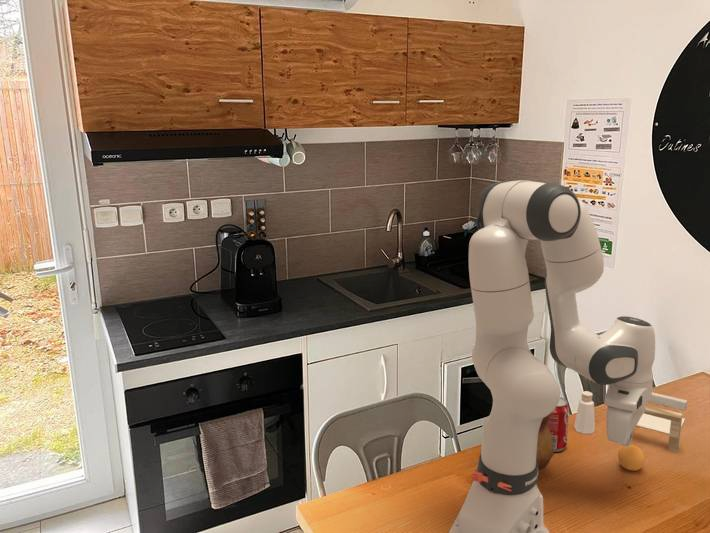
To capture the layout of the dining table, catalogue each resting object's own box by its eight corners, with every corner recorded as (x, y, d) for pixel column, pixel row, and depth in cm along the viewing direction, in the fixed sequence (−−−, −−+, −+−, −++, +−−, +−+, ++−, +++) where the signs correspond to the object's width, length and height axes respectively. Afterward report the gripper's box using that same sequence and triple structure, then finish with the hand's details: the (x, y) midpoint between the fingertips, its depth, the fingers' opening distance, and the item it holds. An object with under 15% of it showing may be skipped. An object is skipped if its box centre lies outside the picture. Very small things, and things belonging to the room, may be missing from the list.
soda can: (568, 454, 150) (571, 407, 147) (539, 451, 151) (541, 405, 148) (564, 440, 156) (567, 395, 154) (536, 438, 158) (539, 393, 155)
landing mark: (676, 436, 158) (677, 435, 158) (629, 423, 165) (629, 422, 165) (685, 419, 167) (685, 418, 167) (639, 408, 174) (639, 407, 174)
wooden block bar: (685, 410, 172) (685, 402, 172) (648, 401, 178) (648, 394, 178) (686, 408, 174) (687, 400, 173) (649, 399, 180) (650, 391, 179)
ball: (640, 478, 139) (643, 455, 138) (614, 469, 142) (616, 447, 141) (646, 467, 143) (648, 444, 142) (620, 459, 147) (622, 437, 146)
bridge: (676, 453, 150) (680, 418, 147) (614, 435, 159) (617, 402, 156) (678, 448, 152) (682, 413, 150) (617, 431, 161) (620, 398, 159)
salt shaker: (594, 436, 158) (597, 398, 156) (573, 432, 161) (575, 395, 158) (595, 427, 163) (598, 390, 161) (574, 423, 166) (577, 387, 163)
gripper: (627, 368, 140) (623, 421, 143) (602, 401, 125) (599, 459, 128) (655, 374, 136) (651, 428, 140) (634, 408, 121) (630, 468, 124)
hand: (626, 443), depth 134 cm, fingers closed
